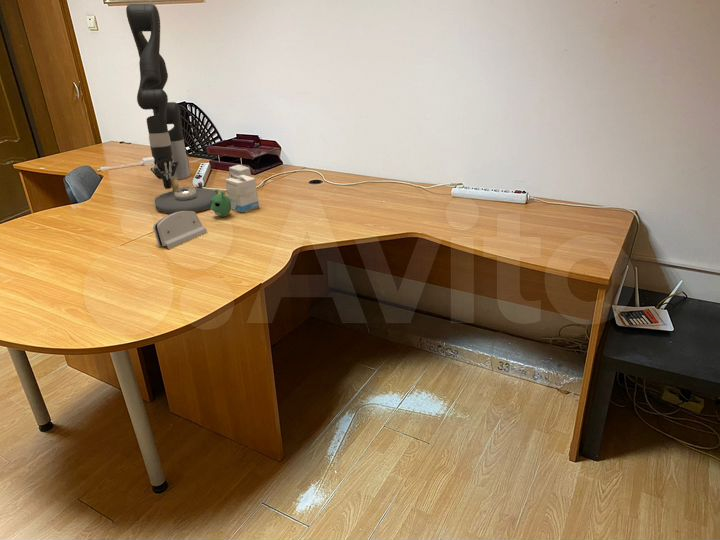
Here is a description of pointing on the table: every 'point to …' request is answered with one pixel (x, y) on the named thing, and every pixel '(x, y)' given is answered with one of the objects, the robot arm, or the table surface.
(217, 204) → the alien toy
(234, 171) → the ink box
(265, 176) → the table surface
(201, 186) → the index post
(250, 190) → the ink box
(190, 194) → the cover
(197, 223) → the grey curved-top upright plate
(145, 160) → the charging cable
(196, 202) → the turntable
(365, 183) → the table surface
